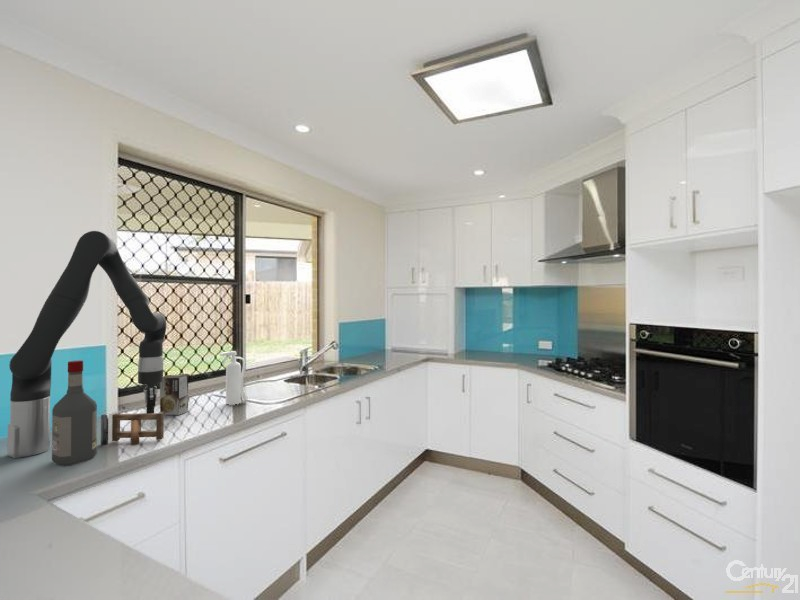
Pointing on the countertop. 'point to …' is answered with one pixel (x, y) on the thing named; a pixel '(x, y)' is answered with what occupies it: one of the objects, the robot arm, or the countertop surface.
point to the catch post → (135, 432)
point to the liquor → (74, 422)
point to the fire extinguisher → (234, 379)
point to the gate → (143, 416)
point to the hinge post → (104, 429)
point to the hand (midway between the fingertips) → (150, 417)
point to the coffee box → (174, 394)
